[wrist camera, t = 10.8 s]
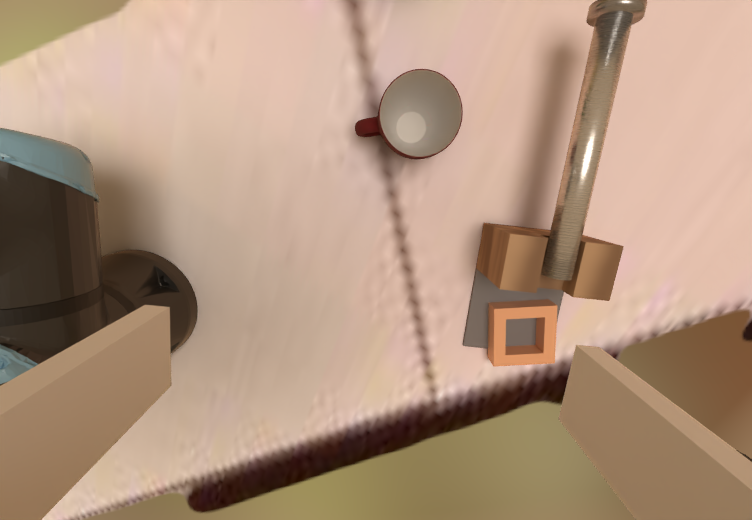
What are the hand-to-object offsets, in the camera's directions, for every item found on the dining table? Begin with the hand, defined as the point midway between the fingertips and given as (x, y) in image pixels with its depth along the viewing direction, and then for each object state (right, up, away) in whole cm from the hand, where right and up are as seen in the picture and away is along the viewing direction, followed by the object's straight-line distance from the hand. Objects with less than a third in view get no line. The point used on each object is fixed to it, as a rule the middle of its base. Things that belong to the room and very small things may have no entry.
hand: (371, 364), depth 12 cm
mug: (+3, +19, +33) cm, 39 cm away
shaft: (+21, +15, +27) cm, 37 cm away
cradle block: (+20, +5, +36) cm, 42 cm away
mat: (+19, -4, +38) cm, 43 cm away
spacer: (+19, -2, +36) cm, 41 cm away
